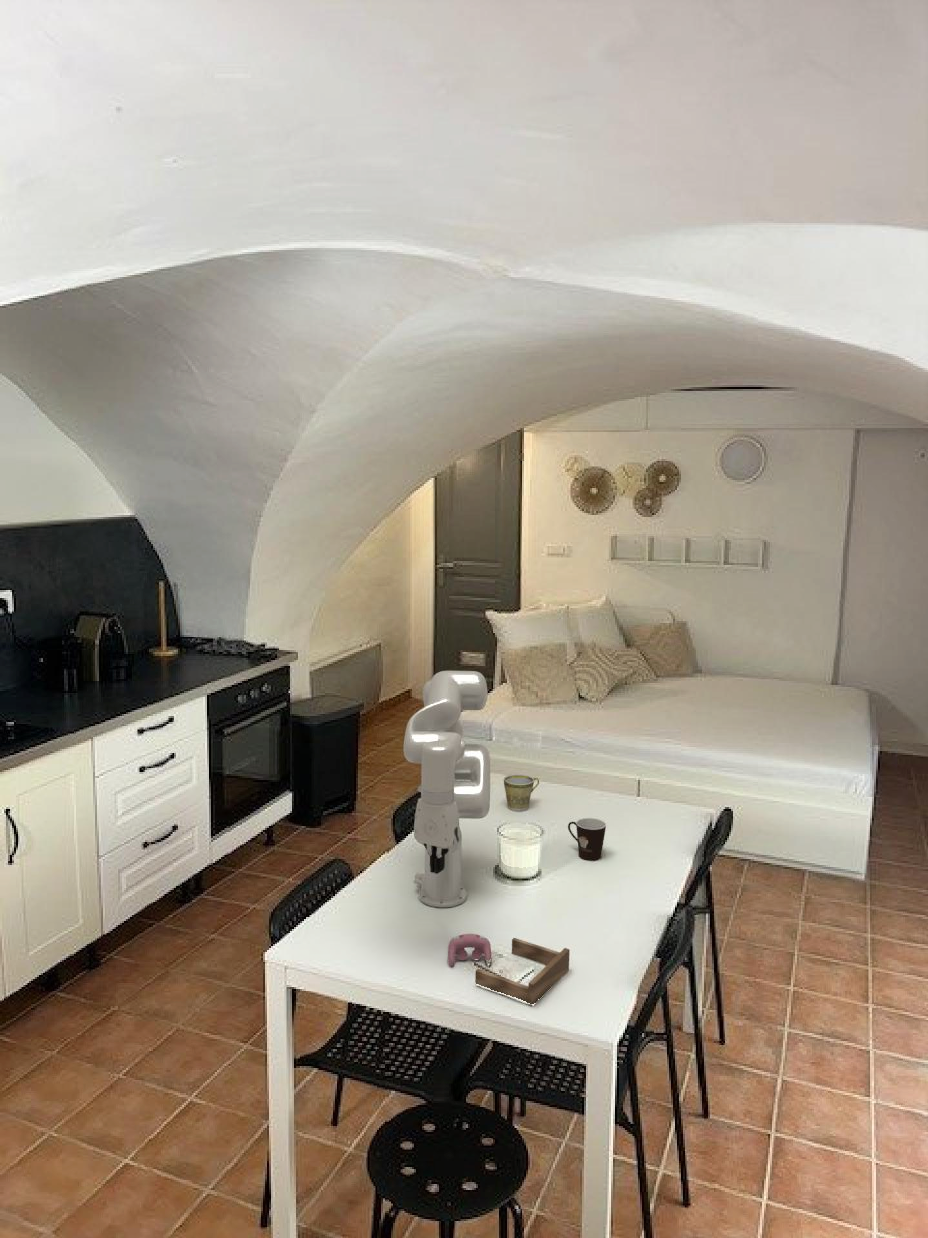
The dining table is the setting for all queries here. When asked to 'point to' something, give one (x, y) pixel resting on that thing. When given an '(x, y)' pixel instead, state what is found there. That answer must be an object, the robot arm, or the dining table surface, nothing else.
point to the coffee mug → (589, 837)
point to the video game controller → (468, 941)
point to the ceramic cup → (519, 791)
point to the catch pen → (540, 982)
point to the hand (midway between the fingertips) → (437, 871)
